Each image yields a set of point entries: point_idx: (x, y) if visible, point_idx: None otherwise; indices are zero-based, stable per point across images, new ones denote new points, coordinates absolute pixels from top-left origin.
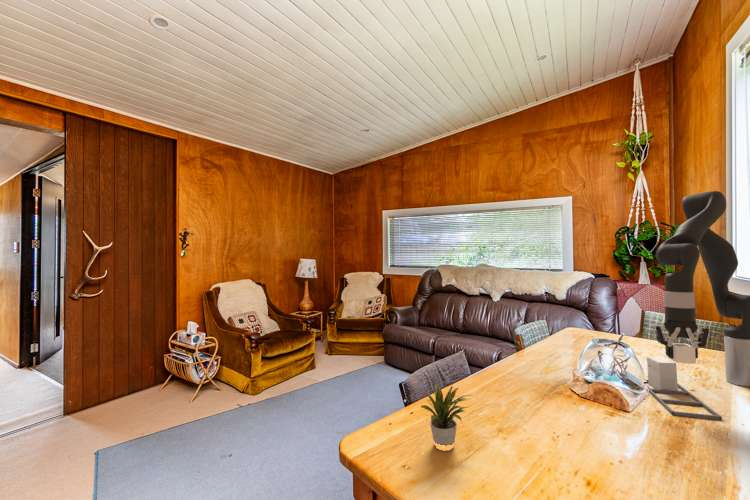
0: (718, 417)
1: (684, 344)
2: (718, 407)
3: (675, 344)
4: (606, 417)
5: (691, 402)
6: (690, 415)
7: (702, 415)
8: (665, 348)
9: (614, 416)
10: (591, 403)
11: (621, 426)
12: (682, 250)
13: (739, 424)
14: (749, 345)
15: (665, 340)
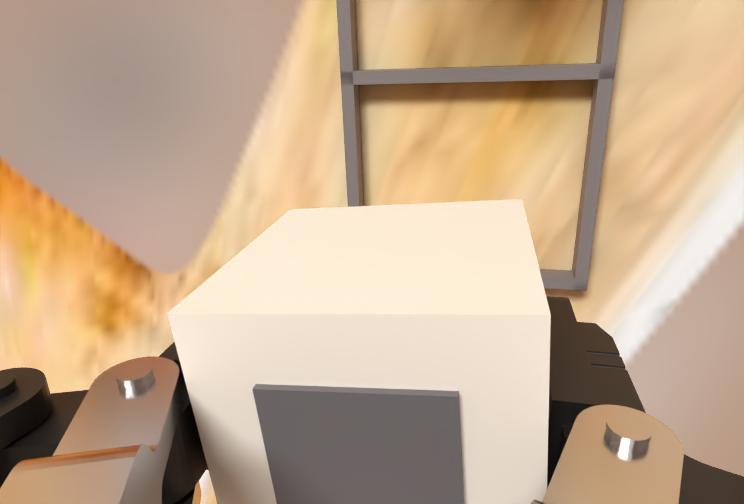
0: (569, 286)
1: (443, 449)
2: (705, 63)
3: (268, 455)
4: (93, 354)
5: (533, 80)
6: None
7: None
8: (169, 347)
9: (120, 339)
10: (27, 213)
11: None
12: None
13: (644, 315)
14: None
15: (73, 421)
